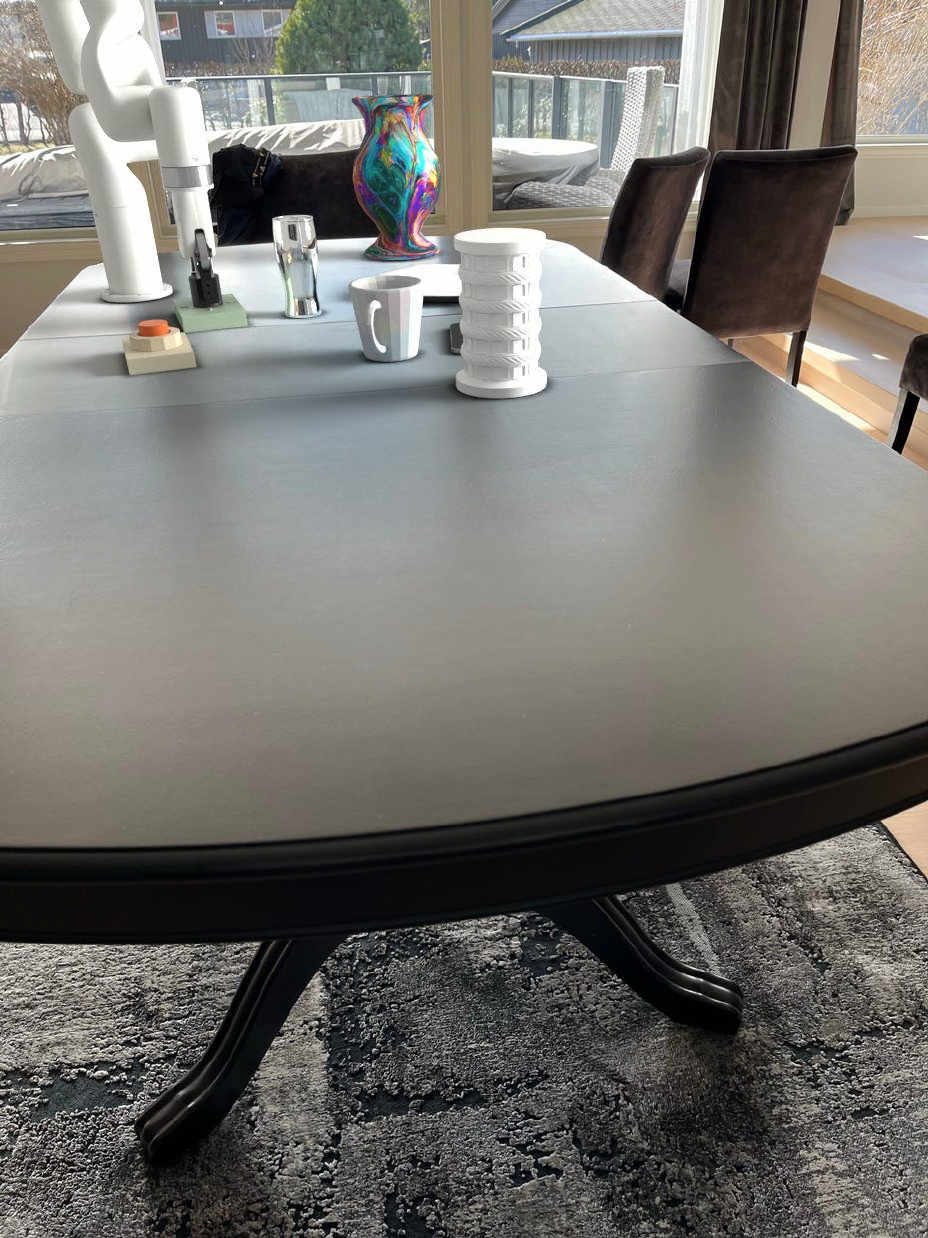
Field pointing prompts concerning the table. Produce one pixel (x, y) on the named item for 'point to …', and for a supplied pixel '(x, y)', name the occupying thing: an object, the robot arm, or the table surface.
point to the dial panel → (210, 315)
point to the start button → (153, 328)
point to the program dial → (195, 295)
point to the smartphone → (456, 338)
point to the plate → (434, 280)
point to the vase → (396, 174)
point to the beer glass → (297, 263)
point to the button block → (158, 352)
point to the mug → (388, 315)
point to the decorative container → (500, 312)
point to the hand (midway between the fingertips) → (207, 298)
